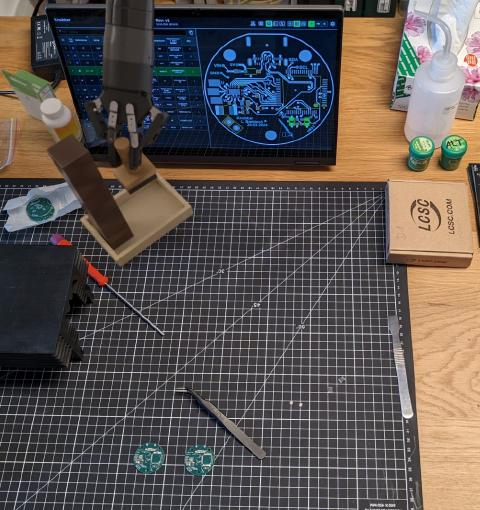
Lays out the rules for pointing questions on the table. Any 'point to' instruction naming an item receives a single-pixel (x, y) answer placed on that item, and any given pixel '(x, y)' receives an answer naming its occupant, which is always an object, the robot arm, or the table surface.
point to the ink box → (30, 91)
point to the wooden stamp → (132, 178)
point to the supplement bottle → (59, 120)
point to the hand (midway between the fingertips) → (124, 167)
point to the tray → (145, 217)
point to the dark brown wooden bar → (90, 190)
